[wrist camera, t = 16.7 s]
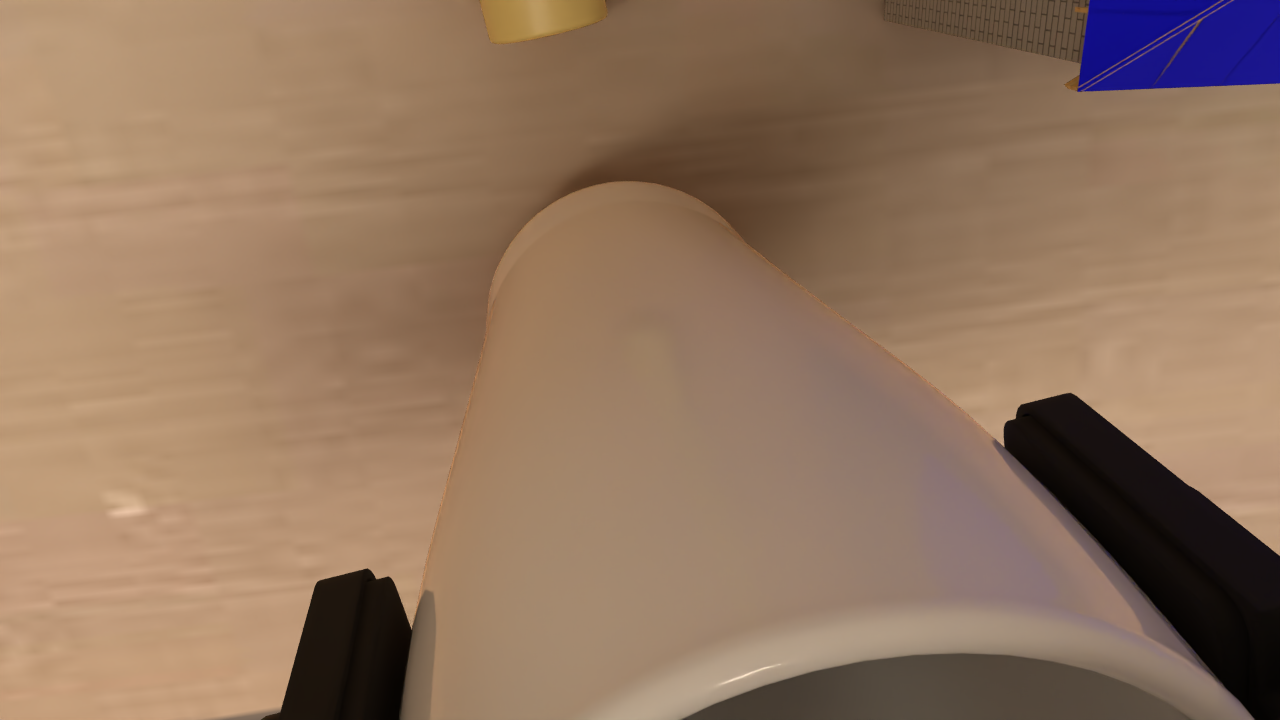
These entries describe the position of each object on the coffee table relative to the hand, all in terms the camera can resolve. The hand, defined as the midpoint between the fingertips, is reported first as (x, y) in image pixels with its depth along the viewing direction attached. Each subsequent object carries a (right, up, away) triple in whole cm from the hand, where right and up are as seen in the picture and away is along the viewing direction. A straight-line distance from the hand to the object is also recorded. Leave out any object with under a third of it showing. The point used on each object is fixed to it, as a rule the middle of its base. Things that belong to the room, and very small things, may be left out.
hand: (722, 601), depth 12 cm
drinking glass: (-1, +4, +9) cm, 10 cm away
